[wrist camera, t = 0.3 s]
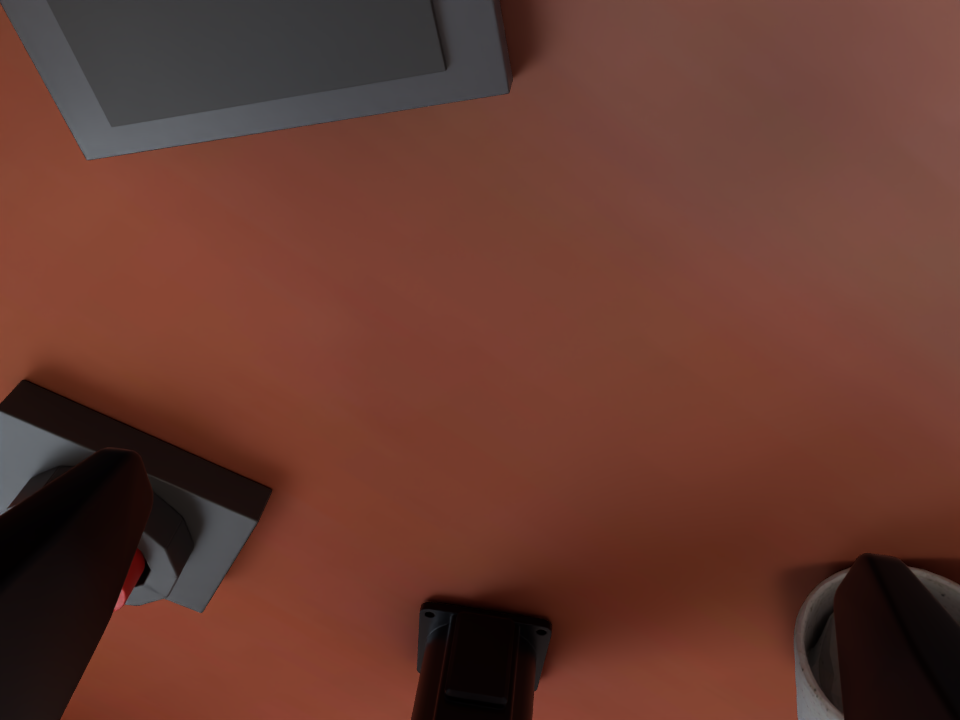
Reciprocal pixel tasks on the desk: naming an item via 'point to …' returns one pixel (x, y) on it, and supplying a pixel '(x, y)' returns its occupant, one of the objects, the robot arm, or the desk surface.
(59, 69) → the coffee maker
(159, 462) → the button pad
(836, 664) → the ceramic mug
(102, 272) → the desk surface
